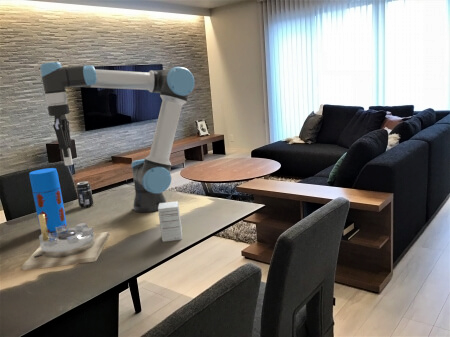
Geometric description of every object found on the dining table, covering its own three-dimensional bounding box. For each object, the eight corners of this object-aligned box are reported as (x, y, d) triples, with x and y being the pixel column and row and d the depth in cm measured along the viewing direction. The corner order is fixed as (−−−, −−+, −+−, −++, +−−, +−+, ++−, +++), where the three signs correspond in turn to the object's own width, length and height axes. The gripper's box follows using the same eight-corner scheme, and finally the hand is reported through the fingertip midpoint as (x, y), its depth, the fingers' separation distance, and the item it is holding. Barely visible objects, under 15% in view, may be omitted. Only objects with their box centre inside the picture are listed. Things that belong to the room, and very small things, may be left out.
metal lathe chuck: (85, 233, 163) (79, 199, 160) (101, 245, 149) (95, 208, 146) (37, 247, 154) (29, 211, 151) (48, 262, 139) (40, 222, 136)
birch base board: (109, 235, 164) (108, 231, 164) (96, 261, 141) (95, 256, 140) (46, 242, 163) (46, 238, 162) (22, 270, 139) (21, 265, 139)
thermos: (57, 232, 174) (46, 173, 168) (34, 232, 176) (23, 174, 171) (71, 223, 184) (61, 167, 179) (50, 223, 186) (39, 168, 181)
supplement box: (163, 234, 159) (158, 202, 156) (182, 232, 160) (178, 200, 157) (161, 242, 152) (157, 208, 149) (182, 239, 152) (178, 206, 150)
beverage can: (78, 205, 210) (74, 182, 208) (92, 203, 213) (88, 180, 211) (80, 209, 204) (76, 185, 202) (94, 206, 207) (90, 182, 204)
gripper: (62, 104, 154) (74, 167, 159) (72, 102, 166) (82, 160, 171) (41, 106, 153) (54, 169, 158) (52, 104, 166) (64, 162, 171)
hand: (69, 164), depth 165 cm, fingers closed
